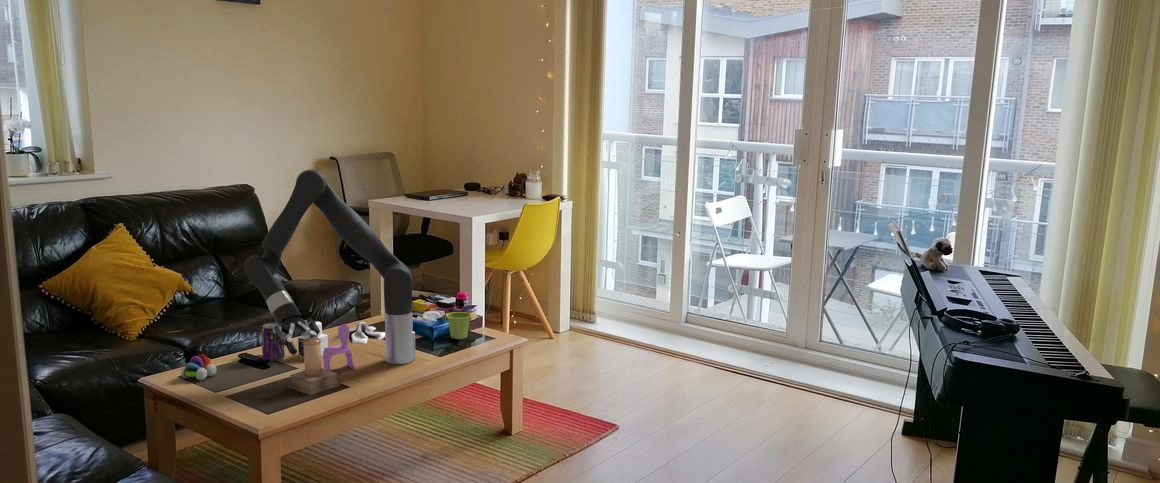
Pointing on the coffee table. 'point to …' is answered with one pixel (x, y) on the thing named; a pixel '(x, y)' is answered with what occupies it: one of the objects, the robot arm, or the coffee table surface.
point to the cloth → (364, 333)
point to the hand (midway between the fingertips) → (306, 350)
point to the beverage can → (271, 344)
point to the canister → (312, 357)
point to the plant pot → (458, 324)
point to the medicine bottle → (322, 336)
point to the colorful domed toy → (199, 368)
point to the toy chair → (339, 348)
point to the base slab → (314, 382)
